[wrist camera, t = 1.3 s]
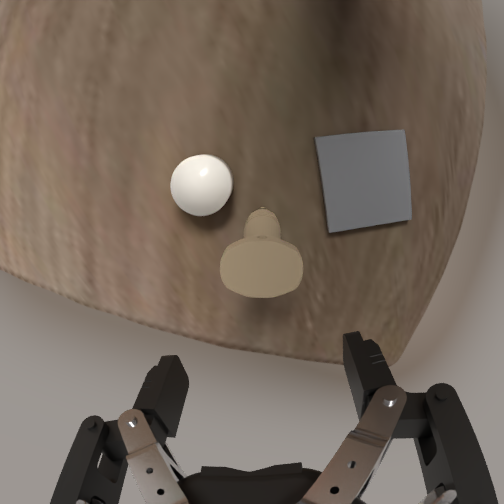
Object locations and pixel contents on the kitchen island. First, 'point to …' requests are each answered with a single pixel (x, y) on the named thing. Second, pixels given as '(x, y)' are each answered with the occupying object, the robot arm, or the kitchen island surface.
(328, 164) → the coaster
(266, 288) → the handle
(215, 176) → the white dome knob
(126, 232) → the kitchen island surface
